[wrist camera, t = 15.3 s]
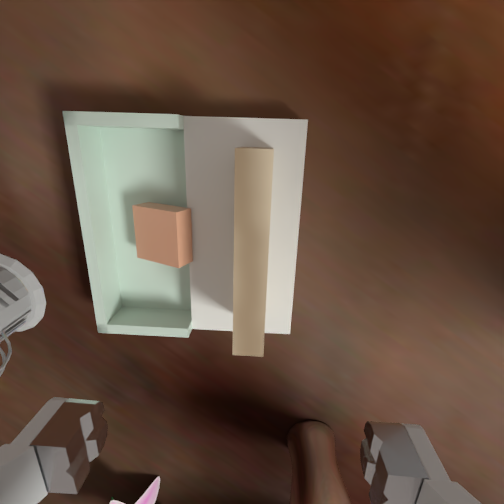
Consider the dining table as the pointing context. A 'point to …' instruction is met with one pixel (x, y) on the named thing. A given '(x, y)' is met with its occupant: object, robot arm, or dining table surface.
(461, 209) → the dining table surface
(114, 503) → the lily
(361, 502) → the dining table surface
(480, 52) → the dining table surface
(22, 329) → the french press
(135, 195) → the box
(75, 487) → the robot arm
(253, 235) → the bar
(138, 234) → the terracotta tile
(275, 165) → the plate
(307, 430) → the beer glass
